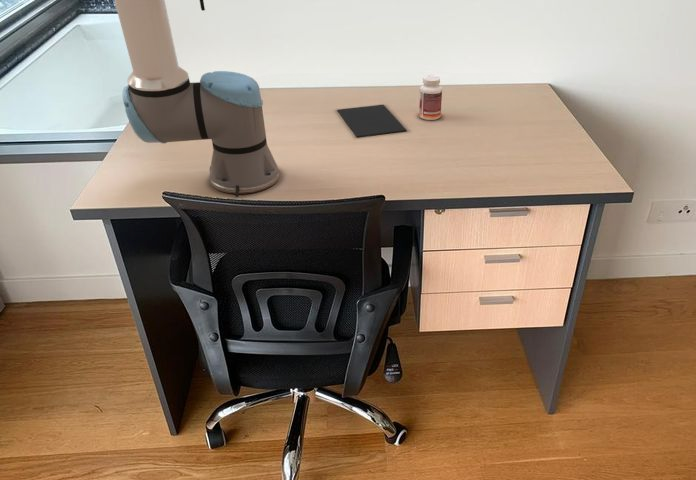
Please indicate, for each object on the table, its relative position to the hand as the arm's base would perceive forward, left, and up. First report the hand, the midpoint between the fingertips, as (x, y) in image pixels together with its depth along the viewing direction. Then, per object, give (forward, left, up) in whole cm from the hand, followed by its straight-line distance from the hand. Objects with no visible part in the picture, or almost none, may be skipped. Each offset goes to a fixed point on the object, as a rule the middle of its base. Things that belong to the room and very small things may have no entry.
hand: (175, 11), depth 152 cm
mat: (-22, -46, -27) cm, 57 cm away
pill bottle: (-24, -63, -27) cm, 72 cm away
